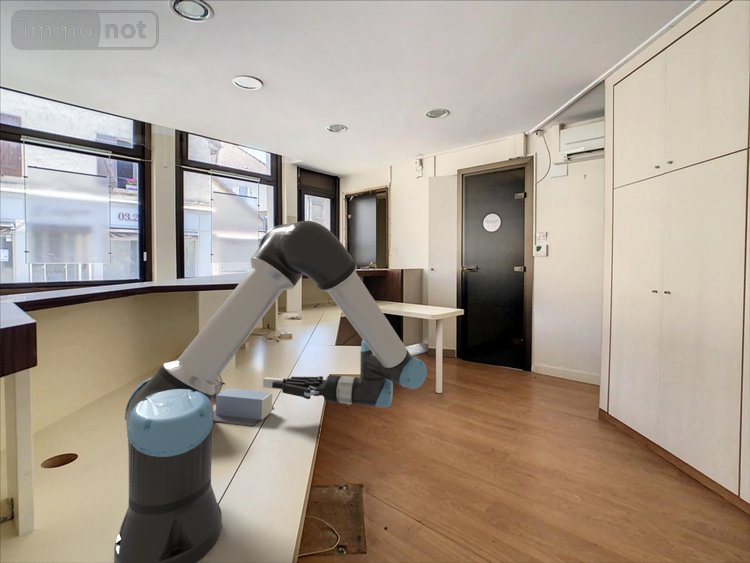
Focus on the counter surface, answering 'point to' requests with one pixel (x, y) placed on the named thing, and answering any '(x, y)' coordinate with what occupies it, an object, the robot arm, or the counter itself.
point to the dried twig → (218, 385)
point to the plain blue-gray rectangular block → (244, 403)
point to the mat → (234, 420)
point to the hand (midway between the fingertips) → (264, 382)
